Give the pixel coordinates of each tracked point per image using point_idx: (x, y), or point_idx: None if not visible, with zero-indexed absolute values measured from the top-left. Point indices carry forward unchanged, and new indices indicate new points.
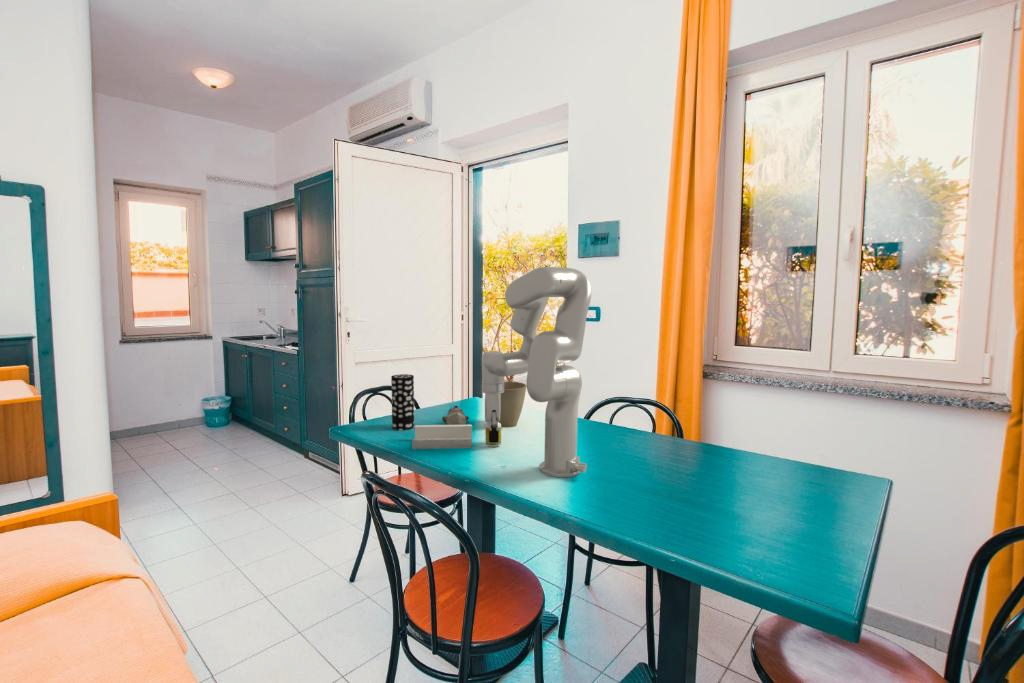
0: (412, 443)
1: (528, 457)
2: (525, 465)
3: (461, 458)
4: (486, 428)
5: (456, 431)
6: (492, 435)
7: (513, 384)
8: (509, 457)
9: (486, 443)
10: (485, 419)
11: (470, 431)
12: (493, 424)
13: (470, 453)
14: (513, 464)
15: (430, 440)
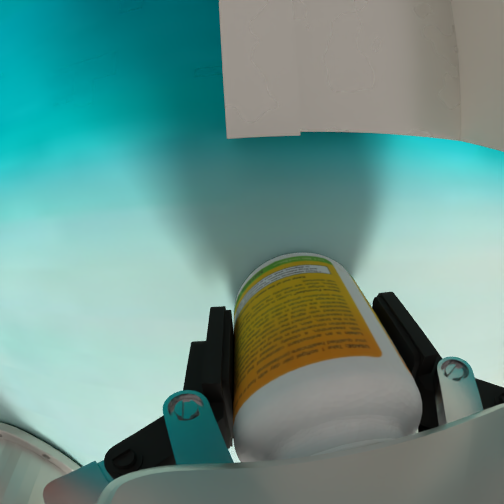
0: None
1: (108, 432)
2: (23, 403)
3: (4, 97)
4: (286, 364)
5: (483, 3)
6: (188, 377)
7: None
8: (79, 373)
9: (267, 267)
10: (194, 500)
11: (493, 133)
12: (51, 489)
13: (91, 136)
14: (11, 371)
15: None
